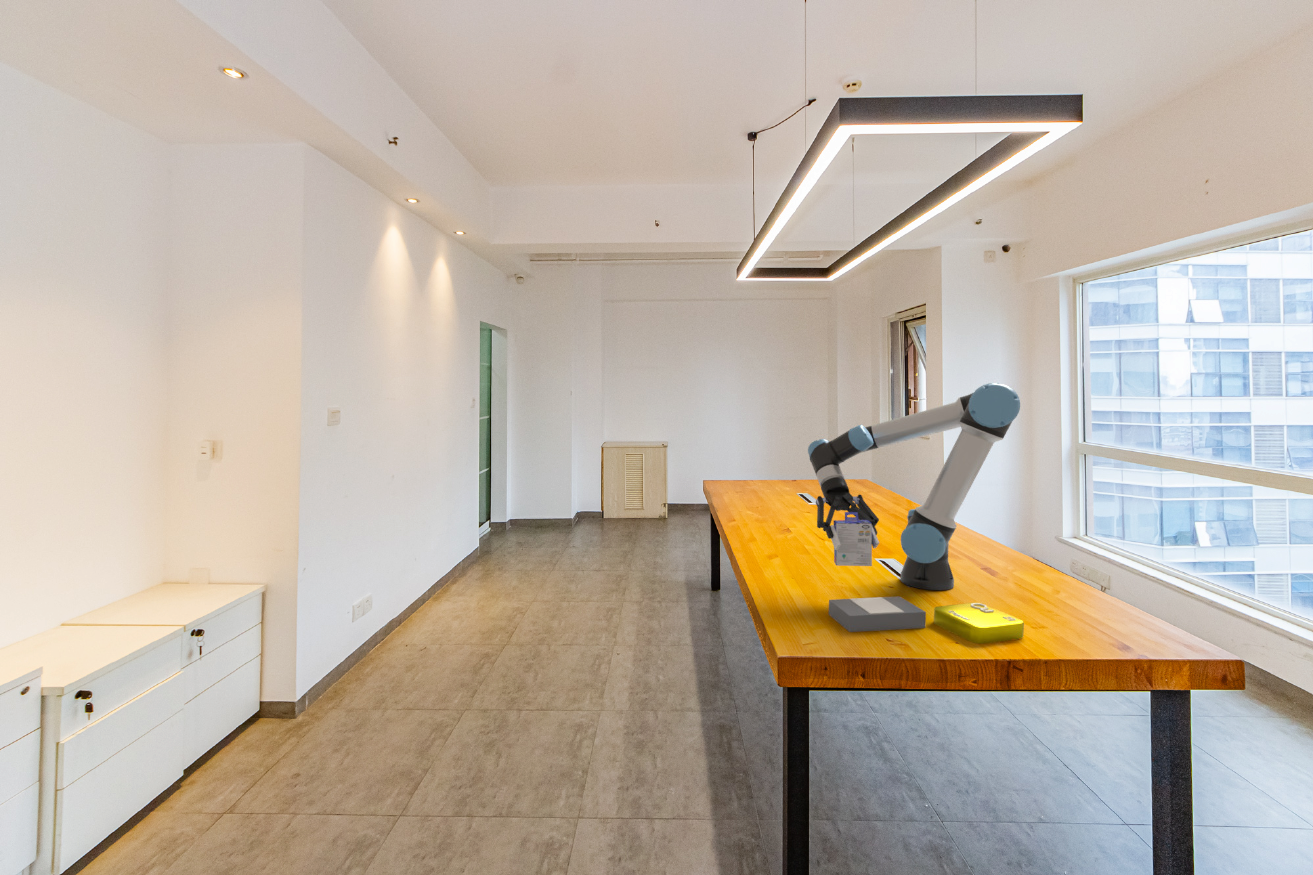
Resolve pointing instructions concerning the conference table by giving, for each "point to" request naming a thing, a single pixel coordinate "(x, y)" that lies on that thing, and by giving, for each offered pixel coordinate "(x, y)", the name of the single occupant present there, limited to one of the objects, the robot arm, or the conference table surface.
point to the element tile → (978, 623)
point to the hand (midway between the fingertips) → (857, 546)
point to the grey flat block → (876, 614)
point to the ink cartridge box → (853, 541)
